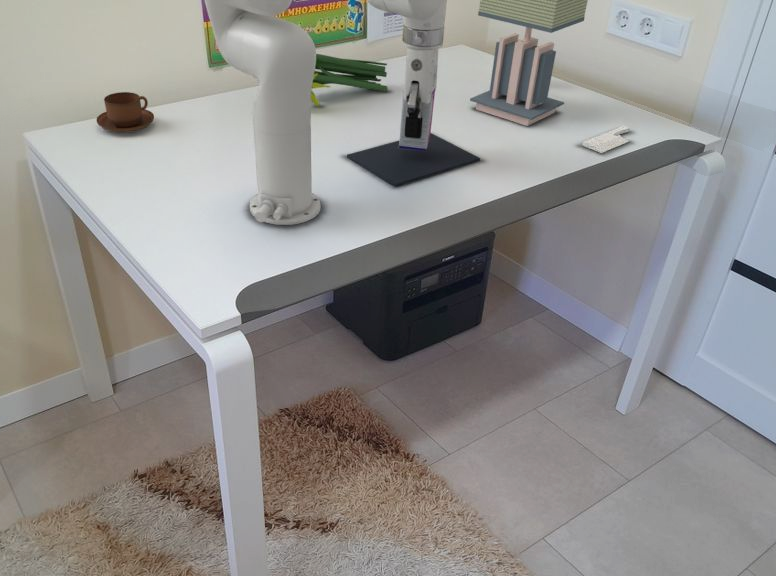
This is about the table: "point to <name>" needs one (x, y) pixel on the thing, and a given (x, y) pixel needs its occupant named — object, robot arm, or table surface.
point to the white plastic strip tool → (607, 140)
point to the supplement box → (426, 126)
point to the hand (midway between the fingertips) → (415, 129)
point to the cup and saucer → (125, 113)
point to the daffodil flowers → (355, 69)
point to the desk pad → (412, 160)
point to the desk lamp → (525, 58)
